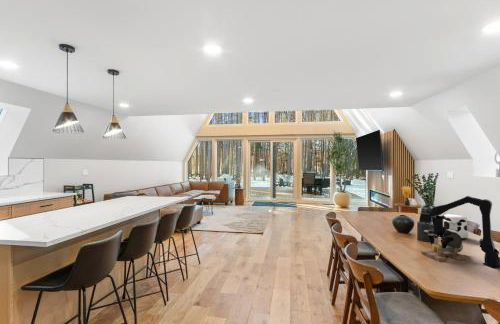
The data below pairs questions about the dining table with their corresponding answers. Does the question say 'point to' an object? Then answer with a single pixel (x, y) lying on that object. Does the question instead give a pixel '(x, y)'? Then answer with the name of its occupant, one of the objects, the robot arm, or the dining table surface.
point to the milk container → (456, 224)
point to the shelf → (444, 254)
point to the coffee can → (455, 242)
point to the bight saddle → (436, 247)
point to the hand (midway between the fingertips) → (438, 247)
